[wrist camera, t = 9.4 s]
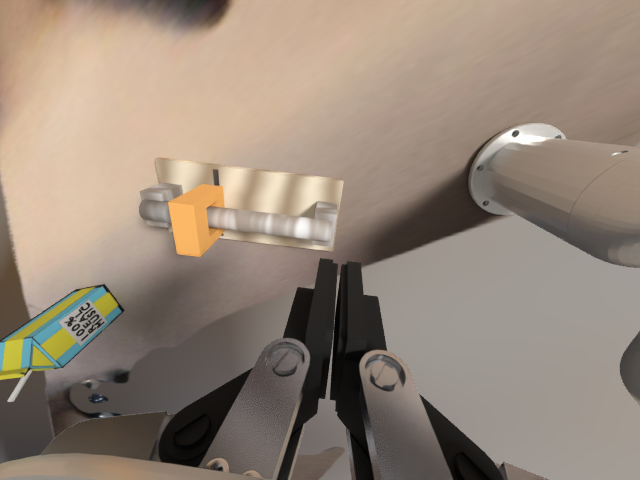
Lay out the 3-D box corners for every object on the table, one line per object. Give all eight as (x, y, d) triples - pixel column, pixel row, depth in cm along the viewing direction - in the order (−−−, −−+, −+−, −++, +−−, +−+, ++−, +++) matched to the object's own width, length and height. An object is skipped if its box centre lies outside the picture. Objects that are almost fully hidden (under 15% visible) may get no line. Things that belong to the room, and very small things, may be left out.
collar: (223, 186, 36) (193, 205, 29) (226, 229, 40) (200, 256, 32) (202, 183, 36) (167, 202, 29) (207, 227, 40) (177, 254, 32)
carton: (98, 318, 54) (-4, 405, 38) (74, 289, 50) (-48, 371, 34) (127, 313, 53) (35, 401, 37) (105, 284, 49) (-7, 366, 33)
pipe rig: (343, 179, 37) (345, 193, 31) (333, 248, 43) (332, 274, 36) (159, 157, 37) (119, 167, 31) (172, 229, 43) (141, 251, 36)
